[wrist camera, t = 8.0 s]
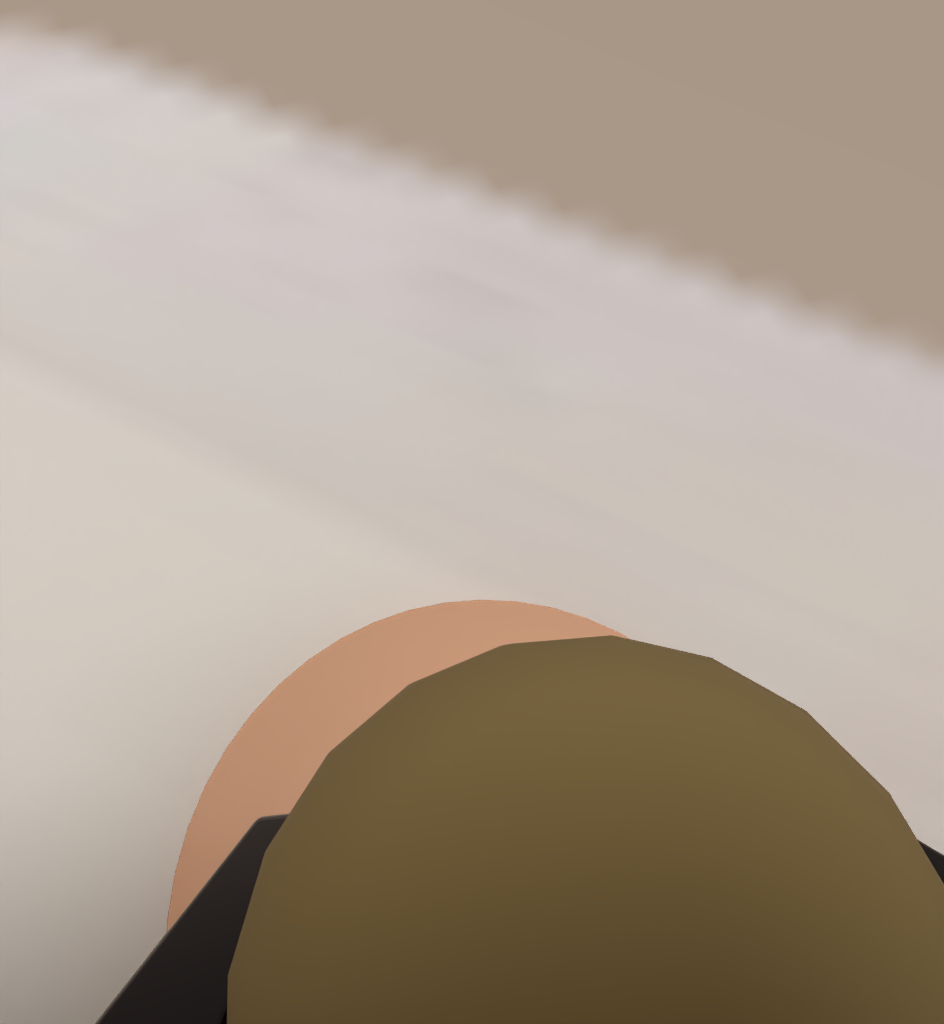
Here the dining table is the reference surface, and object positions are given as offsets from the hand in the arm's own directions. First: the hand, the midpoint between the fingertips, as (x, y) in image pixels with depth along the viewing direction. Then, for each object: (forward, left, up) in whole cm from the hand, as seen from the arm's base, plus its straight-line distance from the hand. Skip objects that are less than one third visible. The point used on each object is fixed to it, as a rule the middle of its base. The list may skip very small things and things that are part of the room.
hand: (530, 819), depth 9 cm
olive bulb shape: (-1, -1, -7) cm, 7 cm away
